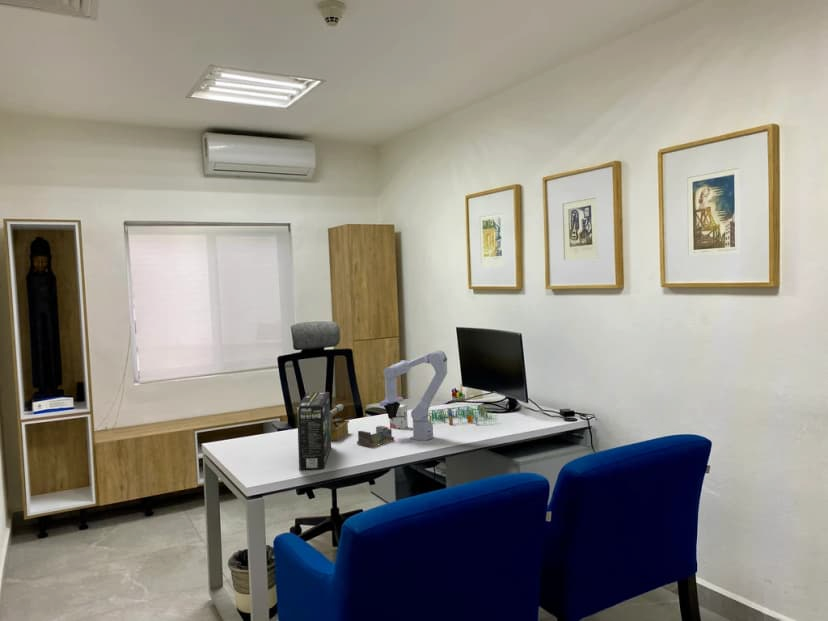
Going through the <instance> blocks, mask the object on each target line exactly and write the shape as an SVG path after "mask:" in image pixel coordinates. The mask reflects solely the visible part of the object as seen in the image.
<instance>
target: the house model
mask: <svg viewBox="0 0 828 621" xmlns="http://www.w3.org/2000/svg"><path fill="white" fill-rule="evenodd" d="M488 411H489V412H492V410H491V409H488V408H486V407H485V406H483V405H480V404H476V405H475V404H474V405H472V406H469V405H467V406H457V407H456V406H455V407H450V408H449V407H448V408H446V409H445V408H441V409H440V408H439V409H431V410H430V409H429V410H428V414H427V419H428V421H429V422H431V423H432V422H437V424H439V423H446V420H447V419H448V421H449V423H448V424H449V425H450V426H453V425H454V422H453V421H454V420H453V419H455V418H457V419H458V421H459V422H458V423H455V425H460V422H462V419H463V418H464V419H466V422H463V424H466V423H468V424H469V423H470V422H471V424H472V423H473V424H474V421H476V424H475V426H480V425H481V423H482V424H483V425H486V420H487V422H490V423H494V424H496V423H497V421H498V418H497V417H498V414H493V415H492V414H491V415H488ZM475 414H476V415H475ZM478 419H480V423H478Z"/></svg>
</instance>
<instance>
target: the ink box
mask: <svg viewBox="0 0 828 621" xmlns="http://www.w3.org/2000/svg"><path fill="white" fill-rule="evenodd" d="M408 421H409V420H408V405H406V404H400V406H399V408H398V411H397V415H396V418H393V419H389V429H398V428H400V429H399V430H401V429H402V430H405V429H407V428H408V427H409V426H408V424H409V422H408Z"/></svg>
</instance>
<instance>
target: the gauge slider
mask: <svg viewBox="0 0 828 621" xmlns="http://www.w3.org/2000/svg"><path fill="white" fill-rule="evenodd" d="M389 429H390V427H388V426H384V425H378V426H375V433H378V432H382V431H385V430H388V431H389Z"/></svg>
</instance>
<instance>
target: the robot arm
mask: <svg viewBox="0 0 828 621" xmlns="http://www.w3.org/2000/svg"><path fill="white" fill-rule="evenodd" d="M423 363H425V364H428V365H429V364H430V365H431V366H432V367H433V369H434V372H435V374H434V376H433V377H432V379H431V381H430V383H429V385H428V387H427V389H426V391H425V392H424V394H423V396H422V398H421V399H420V401H419V402H418V403H417V404H416V407H414V408H412V411H411V412H410V417H411V418H412V431H413V432H412V434H413V435H412V436H410V437H409V439H411V440H417V441H421V442H425V440H426V441H428V439H429V440H431V438H432V439H434V438H435V436H434V426H433V422H432V421H431V422H430V420H429V418H428V419H427V416H428V415H429V414H428V413H429V410H430V409H429V408H430V407H431V404H432V401H433V399H434V398H435V396H436V395H437V392H438V391H439V389H440V387H441V385H442V384H443V381H444V380H445V378H446V376H447V374H448V357H447V355H446V354H445V351H443V350H435V351H432V352H428V353H425V354H423V355H421V356H418V357H416V358H414V359H412V360H403V359H402V360H399V362H397V363H395V364H394V363H393V364H391V366H387V367H386V368H385V369H384V370H383V372H382V374H383V377H384V384H385V385H384V387H385V388H384V390H385V399H384V400H382V401H380V402H379V406H380V407H383V408H384V410H385V411H386V413H387V414H386V415H387V416H388V417H387V418H388V419H389V420H390V419H393V418H396V415H397V411H398V408H399V406H400V405H401V403H400V402H403V401H404V397H402V396H399V397H398V382H397V376H401V375H403V374H405V373H406V374H407V373H408V372H410V370H411V369H412V368H413V367H416V366H418V365H421V364H423ZM428 420H429V421H428Z"/></svg>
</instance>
